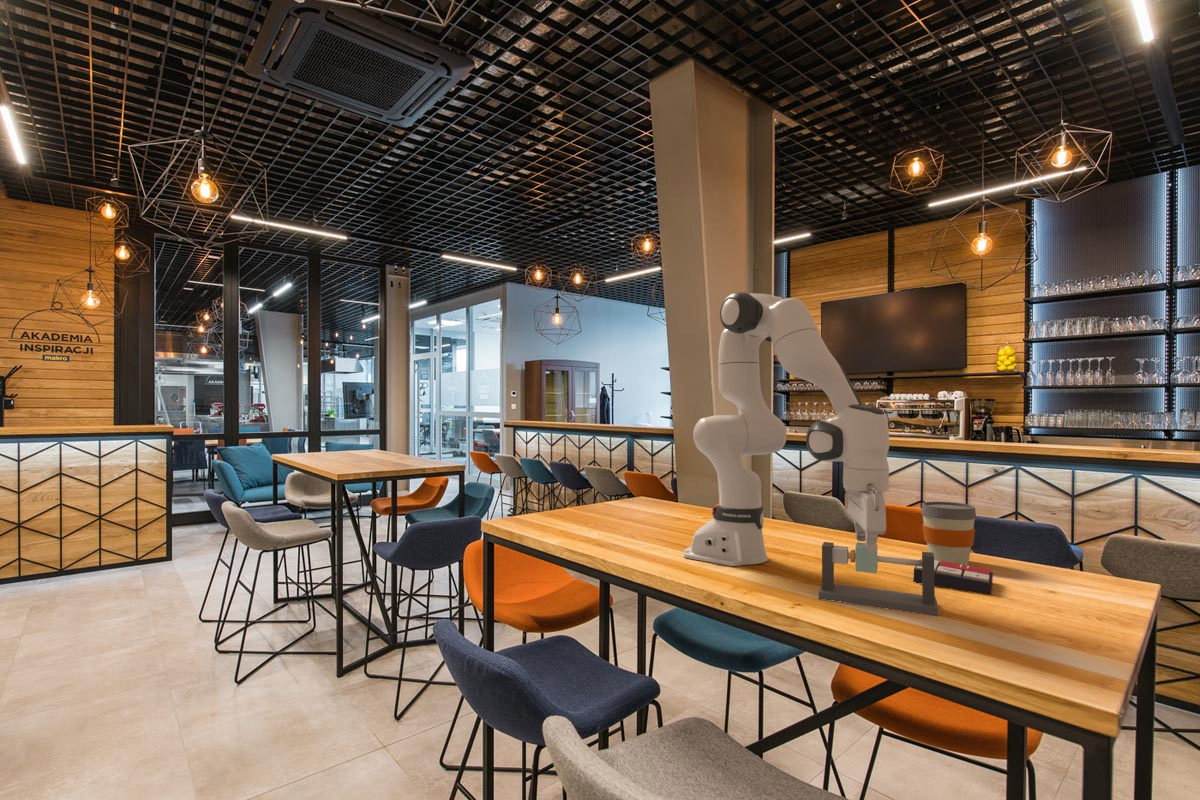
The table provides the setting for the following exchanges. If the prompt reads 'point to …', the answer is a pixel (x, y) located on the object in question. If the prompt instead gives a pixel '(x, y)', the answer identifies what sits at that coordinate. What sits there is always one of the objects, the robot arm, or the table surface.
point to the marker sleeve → (865, 559)
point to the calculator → (959, 577)
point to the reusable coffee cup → (949, 530)
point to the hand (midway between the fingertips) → (865, 545)
